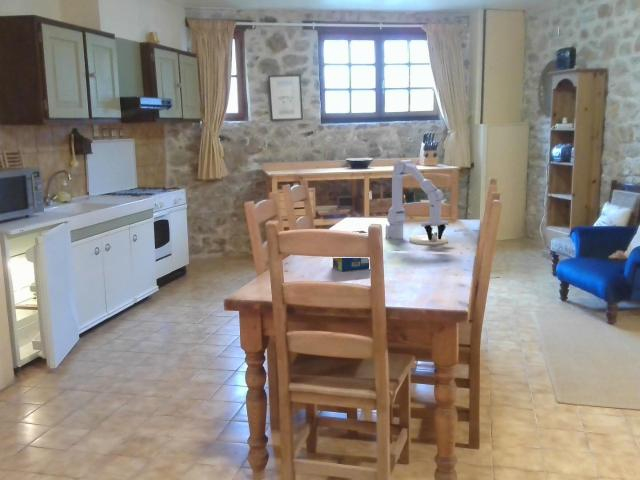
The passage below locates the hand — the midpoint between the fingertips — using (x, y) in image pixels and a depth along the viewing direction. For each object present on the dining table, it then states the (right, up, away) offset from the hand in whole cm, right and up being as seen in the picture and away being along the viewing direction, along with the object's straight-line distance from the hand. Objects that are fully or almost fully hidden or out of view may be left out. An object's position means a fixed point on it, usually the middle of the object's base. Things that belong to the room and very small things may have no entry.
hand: (434, 239), depth 314 cm
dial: (-2, -1, +8) cm, 8 cm away
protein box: (-45, -13, -43) cm, 64 cm away
